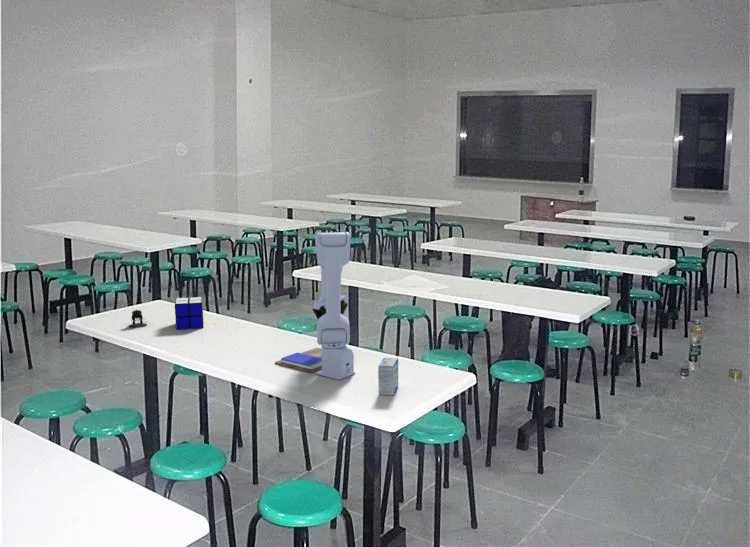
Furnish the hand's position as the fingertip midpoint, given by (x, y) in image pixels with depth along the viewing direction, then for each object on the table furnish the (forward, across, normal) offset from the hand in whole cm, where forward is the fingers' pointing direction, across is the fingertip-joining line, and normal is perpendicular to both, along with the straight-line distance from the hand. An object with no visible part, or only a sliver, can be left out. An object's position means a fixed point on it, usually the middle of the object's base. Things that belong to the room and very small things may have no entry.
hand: (330, 326), depth 235 cm
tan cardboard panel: (+9, +9, +1) cm, 13 cm away
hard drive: (+9, +14, +1) cm, 17 cm away
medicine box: (+10, +17, +36) cm, 41 cm away
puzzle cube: (+10, +5, -66) cm, 67 cm away
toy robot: (+10, +17, -82) cm, 85 cm away
